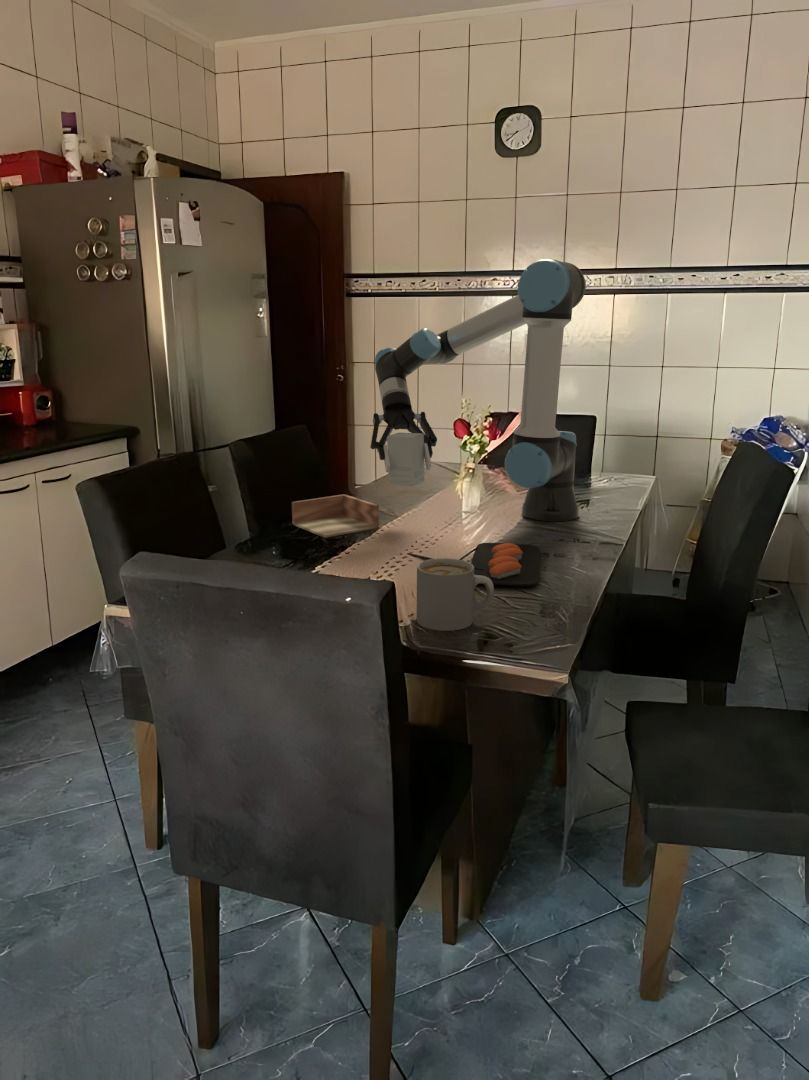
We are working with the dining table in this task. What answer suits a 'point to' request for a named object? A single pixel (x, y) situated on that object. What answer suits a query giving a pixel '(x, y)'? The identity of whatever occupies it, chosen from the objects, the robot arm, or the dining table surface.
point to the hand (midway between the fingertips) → (408, 468)
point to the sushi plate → (505, 563)
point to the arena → (335, 515)
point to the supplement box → (406, 459)
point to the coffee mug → (449, 594)
